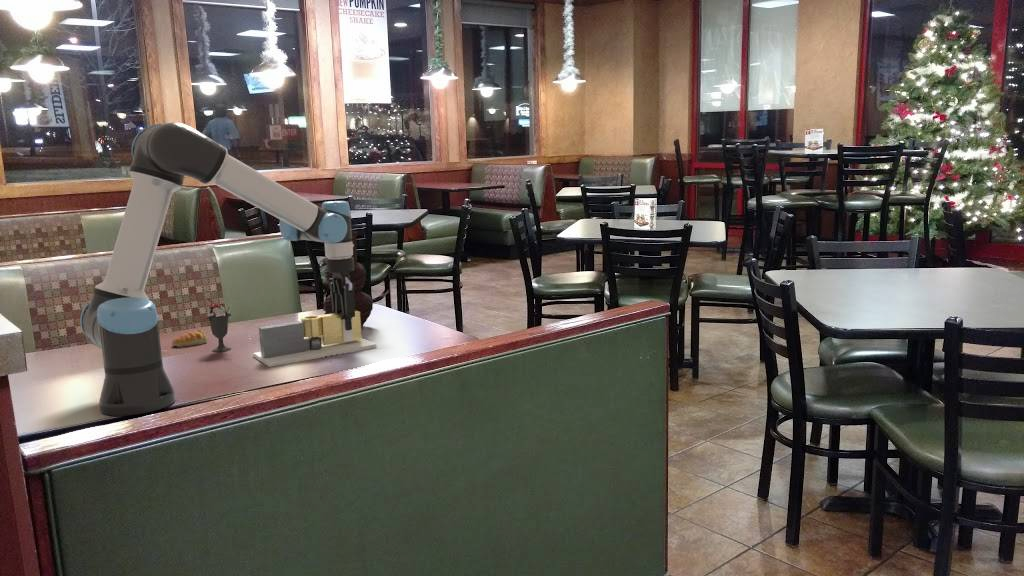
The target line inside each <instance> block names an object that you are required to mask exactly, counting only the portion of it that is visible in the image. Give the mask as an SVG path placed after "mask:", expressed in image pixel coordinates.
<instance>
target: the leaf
mask: <svg viewBox="0 0 1024 576" xmlns="http://www.w3.org/2000/svg"><path fill="white" fill-rule="evenodd" d="M340 317H343V314H342V312H340V313H333V314H319V315H305V316H302V317H300V322H302V323H303V332H304V338H309V337H321V342H322V345H331V344H337V343H344V342H343V332H342V320H341V318H340ZM352 329H353V341H357V340H362V339H361V338H362V328H361V321H360V312H359V311H356V310H355V317H353V318H352ZM348 342H350V341H348Z"/></svg>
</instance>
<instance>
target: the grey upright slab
mask: <svg viewBox="0 0 1024 576" xmlns="http://www.w3.org/2000/svg"><path fill="white" fill-rule="evenodd" d="M258 332H259V333H258V336H259V345H260V347H259V348H260V352H261V357H263V358H271V357H277V356H283V355H288V354H294V353H300V352H305V351H308V350H319V349H322V342H321V337H320V336H319V337H307V338H305V337H304V332H303V323H302V322H301V320H299V321H289V322H284V323H279V324H278V323H277V324H270V325H265V326H259V327H258Z"/></svg>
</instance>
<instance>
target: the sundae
mask: <svg viewBox="0 0 1024 576" xmlns="http://www.w3.org/2000/svg"><path fill="white" fill-rule="evenodd" d="M207 300H208V302H210V306H209V311H207V315H205V319H207V320H208V322H209V326H210V330H211V333H212V335H213V336H214V337H215V338H217V339H218V346H217V347H216V348H213V349H212V352H213V353H223V352H228V351H230V350H232V348H231V347H228V346H226V345H225V344H224V338H225V336H226V335H228V331H229V317H230V316H232V314H231V313H229V309H230V307H229V306H228V307H227V309H225V307H223V306H222V305H218V304H217V303H215V302H214V301H213V300H212V299H211V298H208V299H207Z"/></svg>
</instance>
